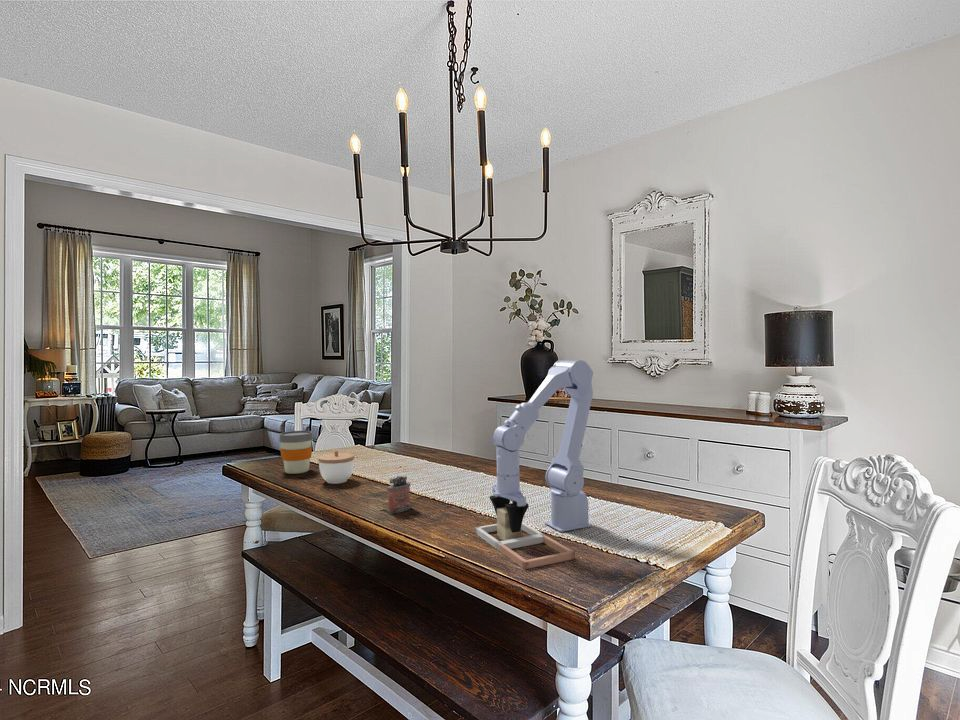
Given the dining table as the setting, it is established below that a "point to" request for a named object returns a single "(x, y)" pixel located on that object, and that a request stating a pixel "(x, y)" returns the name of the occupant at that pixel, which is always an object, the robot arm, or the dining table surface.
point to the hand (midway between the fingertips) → (509, 527)
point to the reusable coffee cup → (296, 450)
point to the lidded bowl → (336, 467)
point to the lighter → (398, 495)
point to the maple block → (505, 525)
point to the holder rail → (526, 541)
